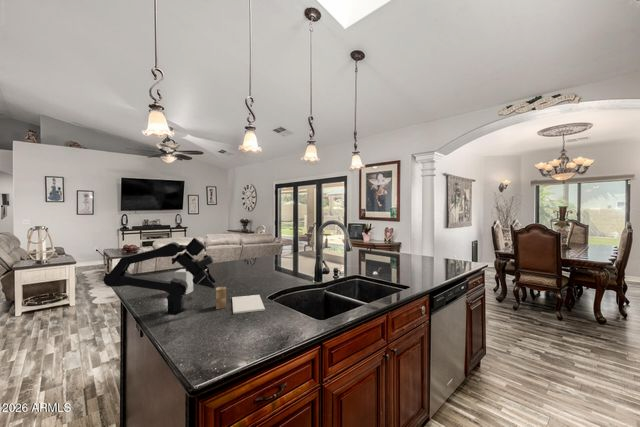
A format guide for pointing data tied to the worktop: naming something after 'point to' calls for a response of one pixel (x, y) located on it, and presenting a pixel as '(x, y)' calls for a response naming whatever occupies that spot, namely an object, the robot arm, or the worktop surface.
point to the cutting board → (247, 304)
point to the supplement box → (185, 278)
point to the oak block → (220, 297)
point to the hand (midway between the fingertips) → (214, 284)
